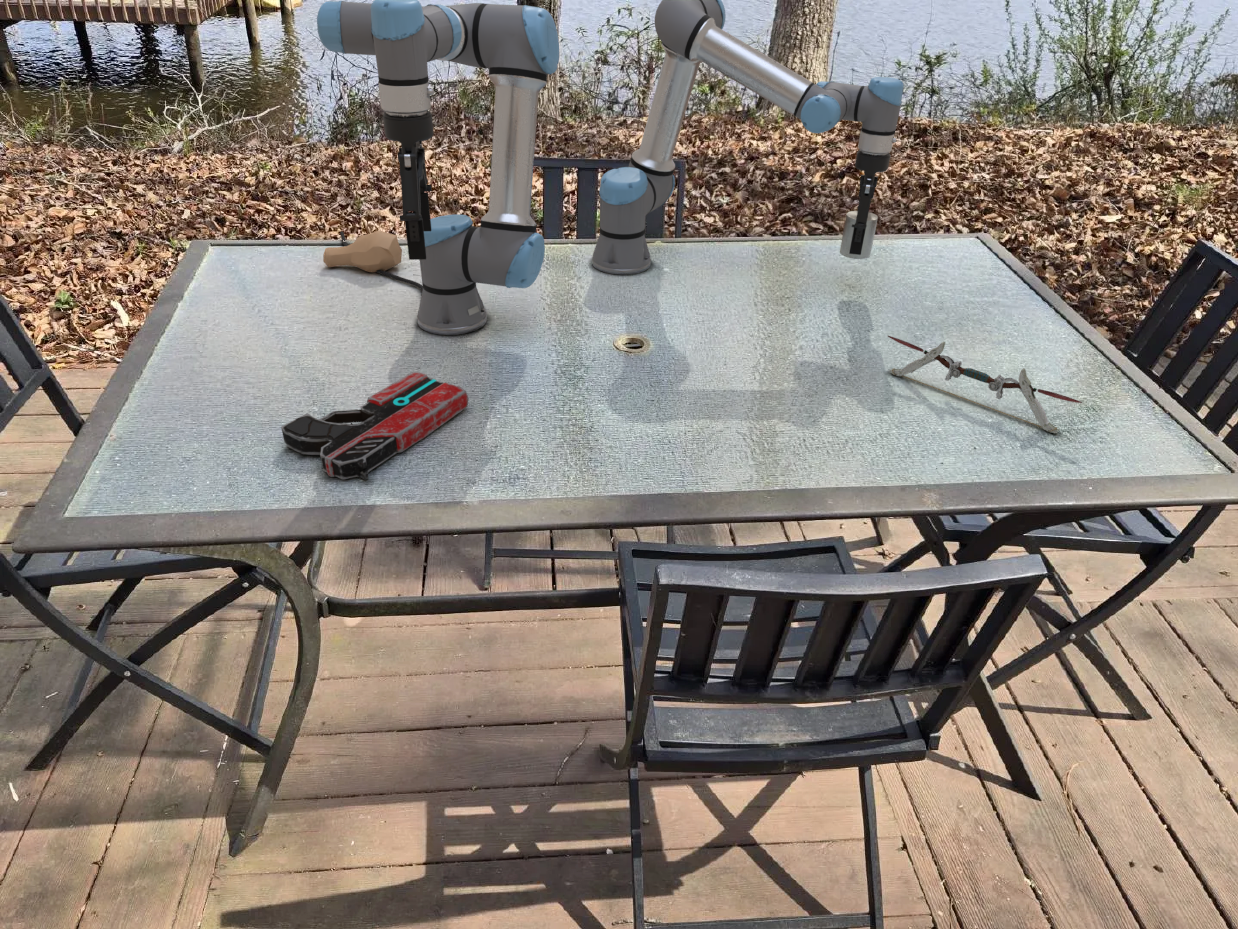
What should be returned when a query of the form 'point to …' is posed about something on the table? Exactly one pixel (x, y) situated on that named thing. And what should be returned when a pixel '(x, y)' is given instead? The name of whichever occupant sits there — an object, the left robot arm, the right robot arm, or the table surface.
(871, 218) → the tin
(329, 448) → the gun
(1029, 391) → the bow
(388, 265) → the squash
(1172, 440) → the table surface
